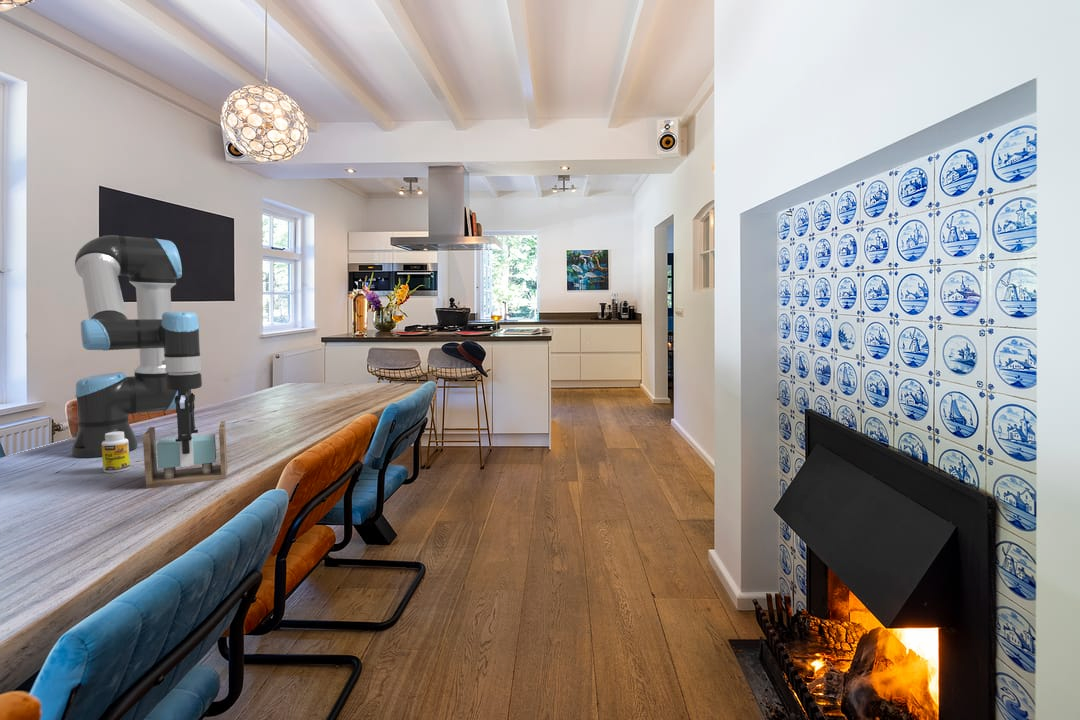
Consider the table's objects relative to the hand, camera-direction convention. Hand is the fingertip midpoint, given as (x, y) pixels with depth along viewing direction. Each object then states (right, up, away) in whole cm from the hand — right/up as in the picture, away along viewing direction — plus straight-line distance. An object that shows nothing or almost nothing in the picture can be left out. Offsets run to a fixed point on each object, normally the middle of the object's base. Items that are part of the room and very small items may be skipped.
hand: (188, 462), depth 132 cm
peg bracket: (0, -4, 0) cm, 4 cm away
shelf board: (0, 0, 0) cm, 0 cm away
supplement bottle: (-23, -4, +6) cm, 24 cm away
